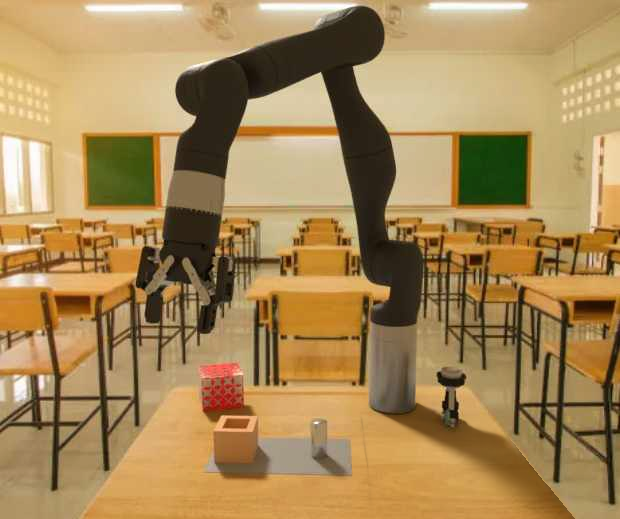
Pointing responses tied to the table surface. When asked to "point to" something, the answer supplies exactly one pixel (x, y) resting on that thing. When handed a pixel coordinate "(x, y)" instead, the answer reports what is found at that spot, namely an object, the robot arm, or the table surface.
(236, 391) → the red white patterned cube
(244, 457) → the collar
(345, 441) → the base plate
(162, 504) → the table surface
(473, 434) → the table surface
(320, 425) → the steel post
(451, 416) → the push button
